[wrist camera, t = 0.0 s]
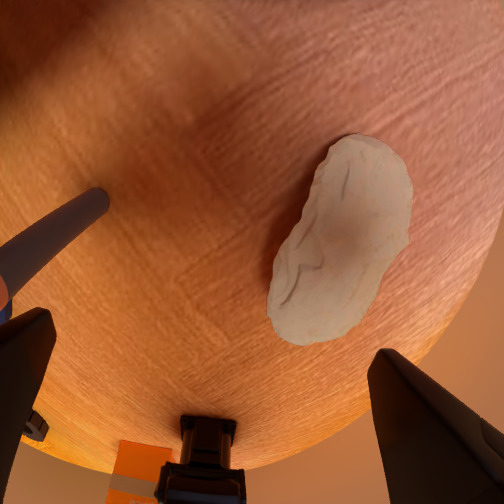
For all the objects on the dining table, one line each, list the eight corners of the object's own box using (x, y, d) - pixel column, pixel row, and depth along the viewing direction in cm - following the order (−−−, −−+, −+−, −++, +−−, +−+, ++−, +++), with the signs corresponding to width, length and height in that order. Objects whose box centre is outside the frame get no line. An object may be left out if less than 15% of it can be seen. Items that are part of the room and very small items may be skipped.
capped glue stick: (109, 217, 21) (3, 322, 9) (84, 214, 21) (-27, 311, 9) (109, 188, 20) (-11, 275, 8) (83, 186, 20) (-41, 267, 8)
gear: (55, 436, 36) (51, 447, 34) (17, 420, 35) (12, 430, 33) (37, 408, 32) (31, 419, 30) (-2, 390, 32) (-9, 400, 29)
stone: (325, 126, 21) (234, 306, 22) (353, 102, 16) (238, 332, 17) (404, 180, 22) (324, 346, 23) (445, 172, 17) (350, 377, 18)
